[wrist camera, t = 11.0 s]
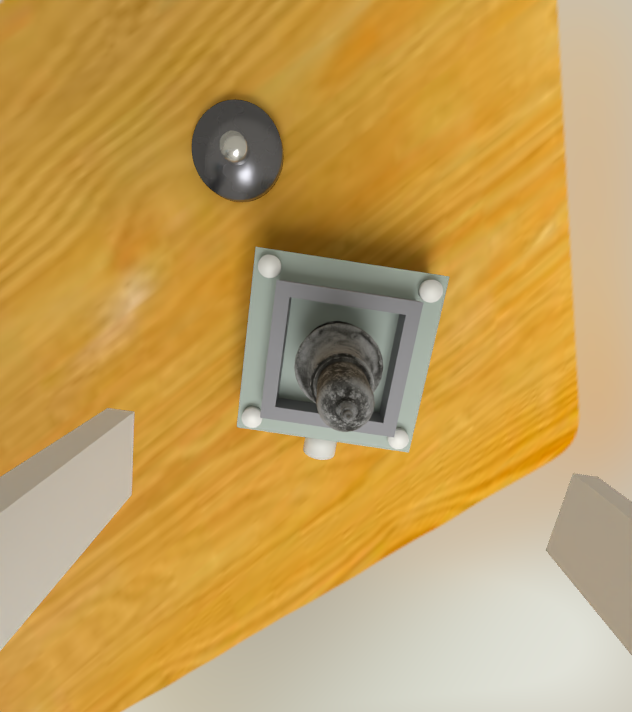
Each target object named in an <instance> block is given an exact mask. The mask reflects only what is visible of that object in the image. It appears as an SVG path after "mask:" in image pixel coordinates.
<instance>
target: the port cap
mask: <svg viewBox="0 0 632 712" xmlns="http://www.w3.org/2000/svg"><path fill="white" fill-rule="evenodd" d="M192 156H193V161H194V165H195V167H196V170H197V172H198V174H199V176H200V177H201V179H202V180H203V182H204V183H205V184H206V185H207V186H208V187H209V188H210V189H211V190H212V191H214V192H215V193H217V194H218V195H219V196H221V197H223V198H225V199H227V200H230V201H235V202H249V201H253V200H256V199H258V198H260V197H262V196H263V195H265V194H266V193H267V192H269V191H270V190H271V189H272V187H273V186H274V185H275V183H276V182H277V180H278V178H279V176H280V173H281V170H282V165H283V147H282V142H281V139H280V136H279V133H278V130H277V128H276V126H275V124H274V123H273V121H272V120H271V118H270V117H269V116H268V115H267V114H266V113H265V112H264V111H263V110H262V109H261V108H259V107H258V106H256V105H254V104H252V103H250V102H247V101H243V100H227V101H223V102H220V103H218V104H216V105H214V106H212V107H211V108H210V109H209V110H207V111H206V112H205V113H204V114H203V116H202V117H201V118H200V120H199V122H198V124H197V125H196V128H195V131H194V134H193V139H192Z"/></svg>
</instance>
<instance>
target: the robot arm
mask: <svg viewBox="0 0 632 712" xmlns="http://www.w3.org/2000/svg"><path fill="white" fill-rule="evenodd" d="M133 437H134V412H132V411H125V410H118V409H111V408H107V409H105V410H104V411H102V412H101V413H99V414H98V415H96V416H95V417H93V418H91V419H90V420H88V421H87V422H85V423H84V424H82V425H81V426H79V427H77V428H76V429H74V430H73V431H71V432H70V433H68V434H67V435H65V436H63V437H62V438H60V439H59V440H57V441H56V442H54V443H53V444H51V445H49V446H48V447H46V448H45V449H43V450H42V451H40V452H39V453H37V454H35V455H34V456H32V457H31V458H29V459H28V460H26V461H24V462H23V463H21V464H20V465H18V466H17V467H15V468H14V469H12V470H10V471H9V472H7V473H6V474H4V475H3V476H1V477H0V651H1V649H2V648H3V647H4V646H5V645H6V643H7V642H8V641H9V640H10V639H11V637H12V636H13V635H14V634H15V633H16V632H17V630H18V629H19V628H20V627H21V626H22V624H23V623H24V622H25V621H26V620H27V618H28V617H29V616H30V615H31V614H32V613H33V611H34V610H35V609H36V608H37V607H38V605H39V604H40V603H41V602H42V601H43V599H44V598H45V597H46V596H47V595H48V593H49V592H50V591H51V590H52V589H53V588H54V586H55V585H56V584H57V583H58V582H59V580H60V579H61V578H62V577H63V576H64V574H65V573H66V572H67V571H68V570H69V569H70V567H71V566H72V565H73V564H74V563H75V561H76V560H77V559H78V558H79V557H80V555H81V554H82V553H83V552H84V551H85V550H86V548H87V547H88V546H89V545H90V544H91V542H92V541H93V540H94V539H95V538H96V536H97V535H98V534H99V533H100V532H101V531H102V529H103V528H104V527H105V526H106V525H107V523H108V522H109V521H110V520H111V519H112V517H113V516H114V515H115V514H116V513H117V512H118V510H119V509H120V508H121V507H122V506H123V504H124V503H125V502H126V501H127V500H128V498H129V497H130V496H131V495H132V468H133ZM546 551H547V552H548V553H549V555H550V556H551V557H552V558H553V559H554V561H555V562H556V563H557V565H558V566H559V567H560V568H561V569H562V571H563V572H564V573H565V574H566V575H567V577H568V578H569V579H570V580H571V582H572V583H573V584H574V585H575V587H576V588H577V589H578V590H579V591H580V592H581V594H582V595H583V596H584V598H585V599H586V600H587V601H588V602H589V604H590V605H591V606H592V607H593V608H594V610H595V611H596V612H597V613H598V615H599V616H600V617H601V618H602V620H604V622H605V623H606V624H607V625H608V627H609V628H610V629H611V630H612V631H613V633H614V634H615V635H616V637H617V638H618V639H619V640H620V641H621V643H622V644H623V645H624V646H625V648H626V649H627V650H628V651H629V652H630V654H631V655H632V502H631V501H630V500H629V499H627V498H626V497H624V496H623V495H622V494H620V493H619V492H618V491H616V490H615V489H613V488H612V487H611V486H609V485H608V484H607V483H605V482H604V481H603V480H601V479H599V477H594V476H588V475H580V474H573V475H572V478H571V481H570V483H569V486H568V489H567V492H566V495H565V498H564V500H563V503H562V506H561V509H560V512H559V515H558V518H557V520H556V523H555V526H554V529H553V531H552V534H551V537H550V540H549V543H548V546H547V548H546Z"/></svg>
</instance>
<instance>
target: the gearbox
mask: <svg viewBox="0 0 632 712" xmlns="http://www.w3.org/2000/svg"><path fill="white" fill-rule="evenodd" d="M448 281H449V276H442V275H436V274H429V273H423V272H416V271H410V270H403V269H397V268H390V267H384V266H377V265H371V264H364V263H358V262H351V261H345V260H338V259H332V258H325V257H319V256H313V255H306V254H300V253H293V252H287V251H280V250H274V249H267V248H261V247H256V249H255V259H254V268H253V278H252V287H251V297H250V306H249V316H248V325H247V335H246V344H245V354H244V363H243V373H242V383H241V392H240V402H239V411H238V421H237V427H239V428H246V429H253V430H260V431H267V432H274V433H280V434H287V435H294V436H301V437H305V442H304V449H303V450H304V452H305V454H306V455H308V456H310V457H312V458H315V459H320V460H327V459H330V458H332V457H333V456H334V454H335V449H336V443H337V442H342V443H349V444H355V445H362V446H369V447H376V448H383V449H390V450H396V451H403V452H409V449H410V445H411V440H412V436H413V432H414V428H415V423H416V419H417V415H418V410H419V406H420V402H421V397H422V393H423V389H424V384H425V380H426V376H427V371H428V367H429V363H430V358H431V354H432V350H433V345H434V341H435V337H436V333H437V328H438V324H439V320H440V315H441V311H442V307H443V302H444V298H445V294H446V289H447V285H448ZM332 321H342V322H347V323H350V324H352V325H354V326H356V327H358V328H361V329H362V330H364V331H365V332H366V333H368V334H369V335H370V336H371V337H372V338H373V339H374V341H375V342H376V343H377V345H378V347H379V349H380V352H381V354H382V359H383V372H382V378H381V381H380V383H379V385H378V387H377V389H376V390H375V391H374V392H373V394H374V401H375V404H374V410H373V413H372V415H371V418H370V419H369V420H368V422H367V423H366V424H365V425H364V426H362V427H361V428H359V429H357V430H354V431H349V432H342V431H337V430H334V429H332V428H330V427H329V426H328V425H326V424H325V422H324V421H323V420H322V419H321V417H320V415H319V413H318V410H317V404H316V403H315V402H313V401H312V400H310V399H309V398H308V397H307V396H306V395H305V394H304V392H303V391H302V390H301V389H300V387H299V384H298V382H297V380H296V376H295V369H294V365H295V357H296V354H297V351H298V349H299V346H300V345H301V343H302V342H303V341H304V339H305V338H306V337H307V336H308V335H309V334H310V333H311V331H313V330H314V329H315V328H316V327H318V326H319V325H322V324H324V323H326V322H332Z"/></svg>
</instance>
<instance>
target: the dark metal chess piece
mask: <svg viewBox="0 0 632 712" xmlns="http://www.w3.org/2000/svg"><path fill="white" fill-rule="evenodd" d="M294 369H295V376H296V380H297V382H298V384H299V387H300V389H301V390H302V391H303V392H304V394H305V395H306V396H307V397H308V398H309V399H310V400H312V401H313V402H315V403H316V404H317V410H318V413H319V415H320V417H321V419H322V420H323V421H324V422H325V424H326V425H328V426H329V427H330V428H332V429H334V430H337V431H342V432H349V431H354V430H357V429H359V428H361V427H362V426H364V425H365V424H366V423H367V422H368V420H369V419H370V418H371V415H372V413H373V410H374V404H375V401H374V394H373V392H374V391H375V390H376V389H377V387H378V385H379V383H380V381H381V378H382V372H383V359H382V354H381V352H380V349H379V347H378V345H377V343H376V342H375V341H374V339H373V338H372V337H371V336H370V335H369V334H368V333H366V332H365V331H364V330H362V329H361V328H358V327H356V326H354V325H352V324H350V323H347V322H342V321H332V322H326V323H324V324H322V325H319V326H318V327H316V328H315V329H314V330H313V331H311V333H310V334H309V335H308V336H307V337H306V338H305V339H304V341H303V342H302V343H301V345H300V346H299V349H298V351H297V354H296V357H295V365H294Z"/></svg>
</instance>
